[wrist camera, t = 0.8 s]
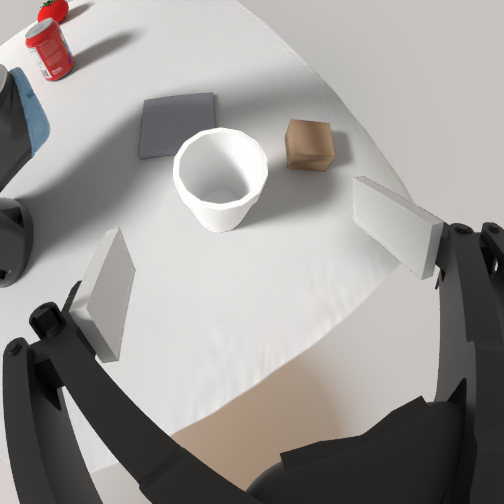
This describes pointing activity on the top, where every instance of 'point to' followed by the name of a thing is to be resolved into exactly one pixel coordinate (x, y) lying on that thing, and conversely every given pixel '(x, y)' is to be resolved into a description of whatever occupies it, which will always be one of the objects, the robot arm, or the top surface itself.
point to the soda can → (49, 49)
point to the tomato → (53, 10)
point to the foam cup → (220, 176)
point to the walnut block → (309, 145)
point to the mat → (174, 122)
